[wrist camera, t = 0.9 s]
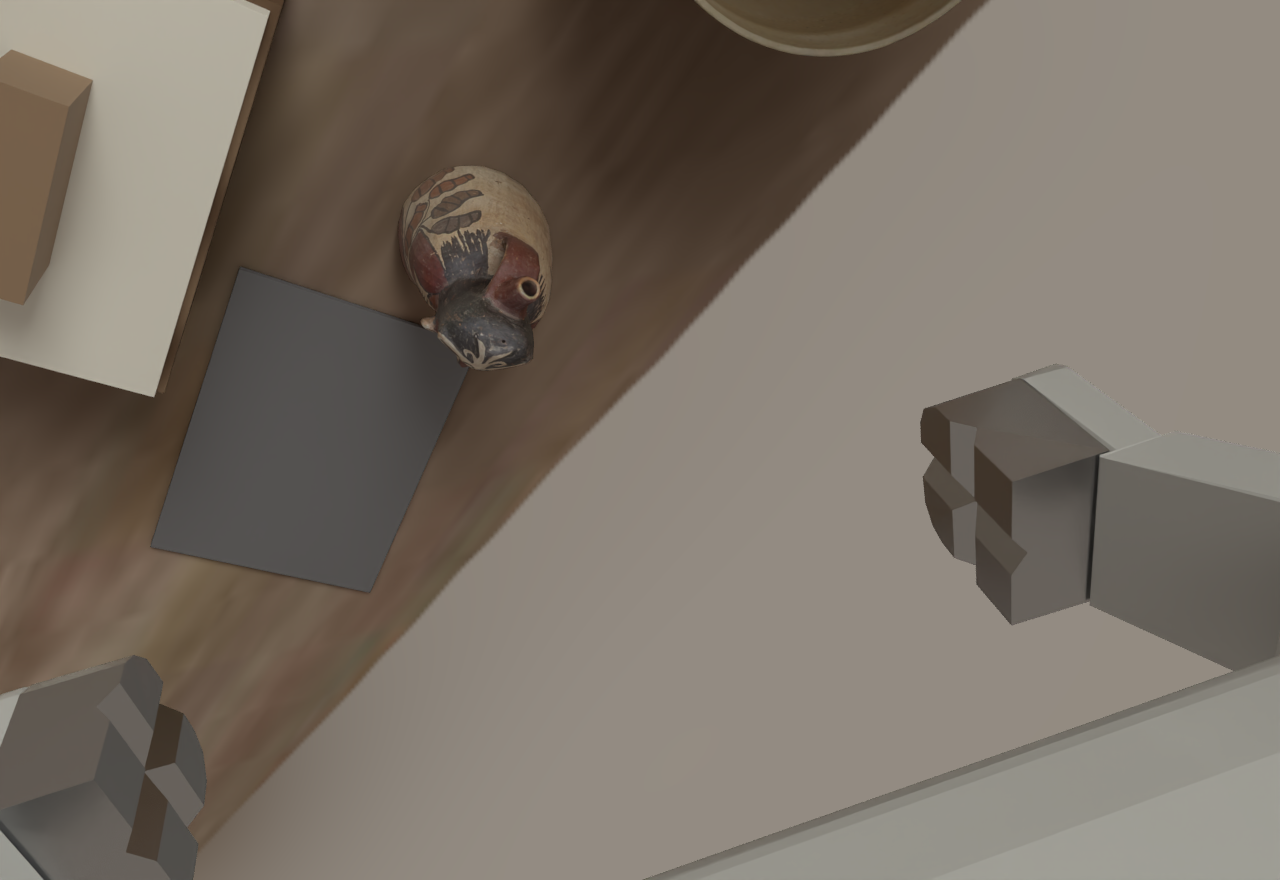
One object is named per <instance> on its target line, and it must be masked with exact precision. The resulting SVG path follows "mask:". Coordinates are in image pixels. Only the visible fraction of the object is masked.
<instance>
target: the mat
mask: <svg viewBox="0 0 1280 880" xmlns="http://www.w3.org/2000/svg"><path fill="white" fill-rule="evenodd" d="M468 369H469V366H468V367H461V366H460V365H459V363H458V362H457V356H456V355H455V354H454V353H453V352H452V351H451V350H450V349H449V348H448V347H447V346H446V345H445V344H444V343H443V342H442V341H441V340H440V339H439V338H438V333H435V332H432V331H429V330H427V329H425V328H424V327H423V326H421V325H418V324H415V323H412V322H409V321H406V320H403V319H400V318H397V317H394V316H391V315H387V314H384V313H381V312H378V311H375V310H372V309H369V308H366V307H363V306H360V305H357V304H354V303H351V302H348V301H345V300H341V299H338V298H335V297H332V296H329V295H326V294H323V293H320V292H317V291H314V290H311V289H308V288H305V287H302V286H299V285H296V284H292V283H289V282H286V281H283V280H280V279H277V278H274V277H271V276H268V275H265V274H262V273H259V272H256V271H253V270H250V269H247V268H243V267H240V268H239V271H238V275H237V278H236V281H235V284H234V287H233V290H232V293H231V296H230V300H229V303H228V306H227V309H226V312H225V315H224V318H223V321H222V325H221V328H220V331H219V334H218V337H217V340H216V343H215V346H214V349H213V353H212V356H211V359H210V362H209V365H208V368H207V371H206V374H205V378H204V381H203V384H202V387H201V390H200V393H199V396H198V399H197V402H196V406H195V409H194V412H193V415H192V418H191V421H190V424H189V427H188V431H187V434H186V437H185V440H184V443H183V446H182V449H181V452H180V455H179V459H178V462H177V465H176V468H175V471H174V474H173V477H172V480H171V484H170V487H169V490H168V493H167V496H166V499H165V502H164V505H163V508H162V512H161V515H160V518H159V521H158V524H157V527H156V530H155V533H154V537H153V540H152V543H151V546H150V547H154V548H158V549H163V550H168V551H173V552H178V553H182V554H187V555H192V556H197V557H201V558H206V559H211V560H216V561H221V562H225V563H230V564H235V565H240V566H245V567H249V568H254V569H259V570H264V571H268V572H273V573H278V574H283V575H288V576H292V577H297V578H302V579H307V580H312V581H316V582H321V583H326V584H331V585H336V586H340V587H345V588H350V589H355V590H359V591H364V592H369V593H370V591H371V589H372V587H373V585H374V582H375V580H376V578H377V575H378V573H379V571H380V569H381V566H382V564H383V562H384V560H385V557H386V555H387V553H388V551H389V548H390V546H391V544H392V541H393V539H394V537H395V535H396V532H397V530H398V528H399V526H400V523H401V521H402V519H403V516H404V514H405V512H406V510H407V507H408V505H409V503H410V501H411V498H412V496H413V494H414V492H415V489H416V487H417V485H418V482H419V480H420V478H421V476H422V473H423V471H424V469H425V467H426V464H427V462H428V460H429V458H430V455H431V453H432V451H433V448H434V446H435V444H436V442H437V439H438V437H439V435H440V433H441V430H442V428H443V426H444V424H445V421H446V419H447V417H448V414H449V412H450V410H451V408H452V405H453V403H454V401H455V399H456V396H457V394H458V392H459V389H460V387H461V385H462V383H463V380H464V378H465V376H466V374H467V371H468Z"/></svg>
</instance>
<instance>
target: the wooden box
mask: <svg viewBox="0 0 1280 880" xmlns="http://www.w3.org/2000/svg"><path fill="white" fill-rule="evenodd" d="M246 1H248V2H251V3H253V4H255V5H257V6H260V7H262V8H264V9H267V10H269V11H270V14H269V17H268V21H267V24H266V27H265V31H264V34H263V37H262V41H261V44H260V47H259V51H258V54H257V57H256V60H255V64H254V67H253V70H252V74H251V77H250V80H249V84H248V87H247V90H246V94H245V97H244V100H243V104H242V107H241V110H240V114H239V117H238V120H237V124H236V127H235V130H234V134H233V137H232V140H231V144H230V147H229V150H228V154H227V157H226V160H225V164H224V167H223V170H222V174H221V177H220V180H219V184H218V187H217V190H216V194H215V197H214V200H213V204H212V207H211V210H210V214H209V217H208V220H207V224H206V227H205V230H204V234H203V237H202V240H201V244H200V247H199V250H198V254H197V257H196V260H195V264H194V267H193V270H192V274H191V277H190V280H189V284H188V287H187V290H186V294H185V297H184V300H183V304H182V307H181V310H180V314H179V317H178V320H177V324H176V327H175V330H174V334H173V337H172V340H171V344H170V347H169V350H168V354H167V357H166V360H165V364H164V367H163V370H162V374H161V377H160V380H159V384H158V387H157V390H156V392H160V393H164V392H165V389H166V386H167V383H168V379H169V376H170V373H171V370H172V367H173V363H174V360H175V357H176V354H177V351H178V348H179V344H180V341H181V338H182V335H183V332H184V328H185V325H186V322H187V319H188V316H189V312H190V309H191V306H192V303H193V300H194V296H195V293H196V290H197V287H198V283H199V280H200V277H201V273H202V270H203V267H204V264H205V260H206V257H207V254H208V250H209V247H210V244H211V241H212V237H213V234H214V231H215V227H216V224H217V221H218V218H219V214H220V211H221V208H222V204H223V201H224V198H225V195H226V191H227V188H228V185H229V181H230V178H231V175H232V172H233V168H234V165H235V162H236V159H237V155H238V152H239V149H240V145H241V142H242V139H243V136H244V132H245V129H246V126H247V122H248V119H249V116H250V113H251V109H252V106H253V103H254V99H255V96H256V93H257V90H258V86H259V83H260V80H261V76H262V73H263V70H264V67H265V63H266V60H267V57H268V53H269V50H270V47H271V44H272V40H273V37H274V34H275V30H276V27H277V24H278V21H279V17H280V14H281V11H282V8H283V4H284V1H285V0H246Z"/></svg>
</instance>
